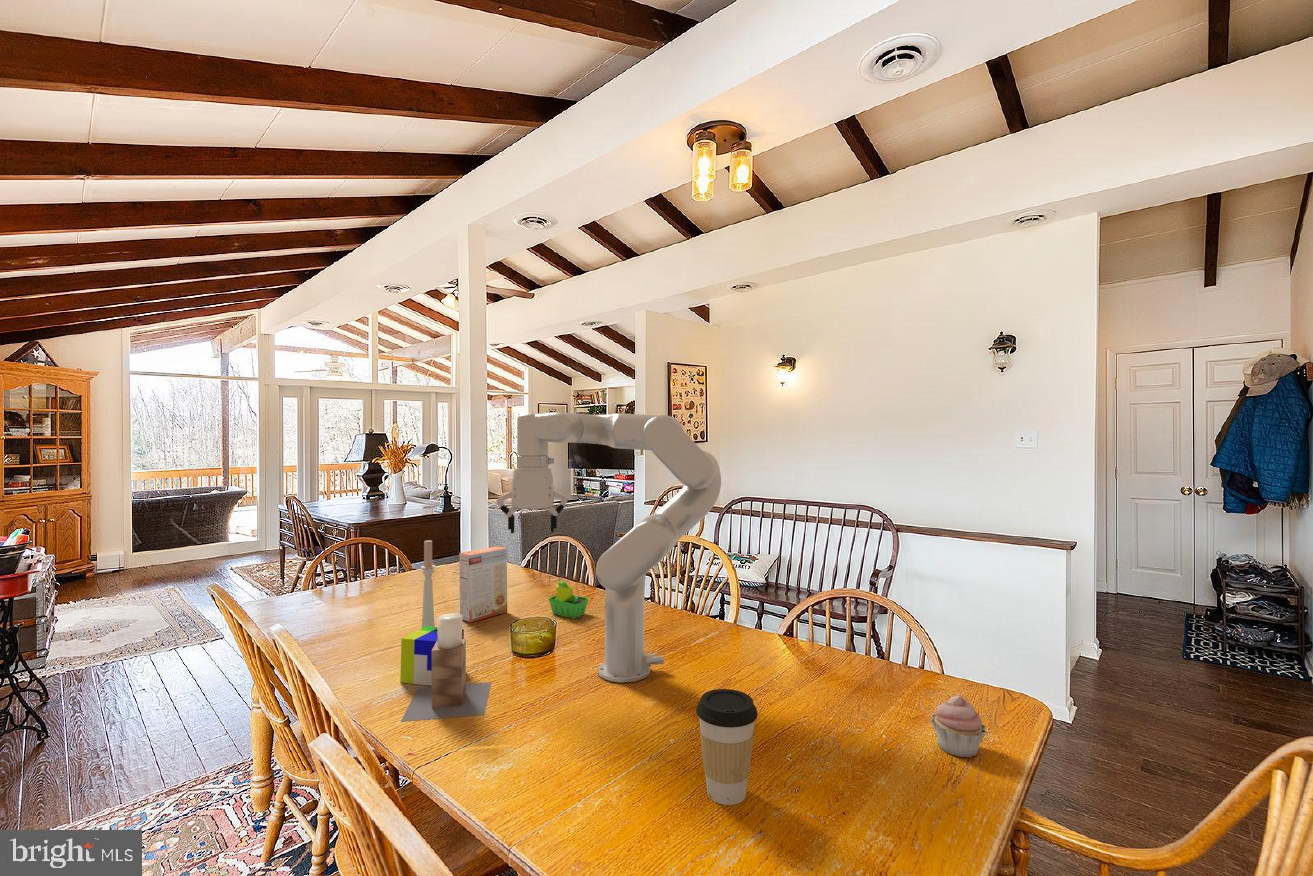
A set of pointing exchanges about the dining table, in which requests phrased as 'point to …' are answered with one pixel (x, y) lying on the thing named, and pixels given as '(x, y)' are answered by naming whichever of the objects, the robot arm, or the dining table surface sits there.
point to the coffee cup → (726, 743)
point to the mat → (470, 707)
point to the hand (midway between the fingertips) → (532, 531)
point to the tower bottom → (448, 691)
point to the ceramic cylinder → (449, 631)
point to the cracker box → (483, 583)
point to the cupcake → (958, 727)
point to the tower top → (448, 661)
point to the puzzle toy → (418, 656)
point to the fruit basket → (567, 602)
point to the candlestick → (428, 587)
